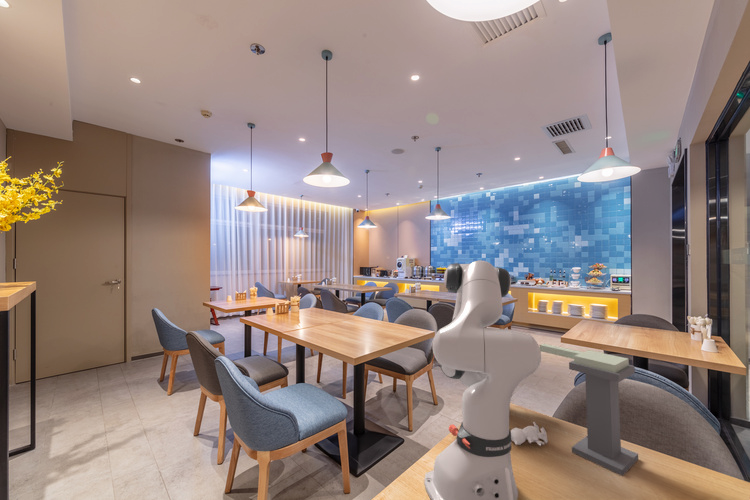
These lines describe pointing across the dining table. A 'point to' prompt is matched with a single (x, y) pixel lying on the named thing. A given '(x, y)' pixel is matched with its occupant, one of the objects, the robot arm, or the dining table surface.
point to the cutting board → (589, 358)
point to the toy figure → (528, 435)
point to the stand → (604, 419)
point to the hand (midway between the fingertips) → (520, 358)
